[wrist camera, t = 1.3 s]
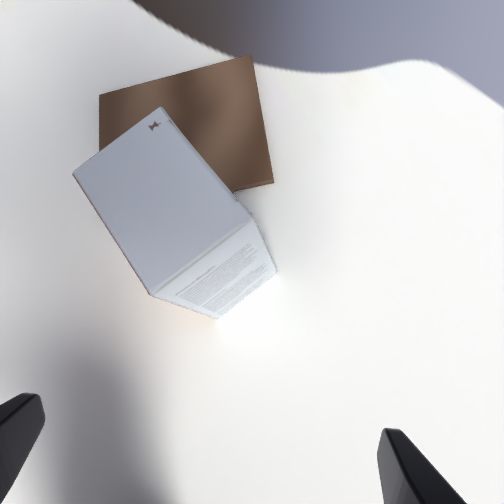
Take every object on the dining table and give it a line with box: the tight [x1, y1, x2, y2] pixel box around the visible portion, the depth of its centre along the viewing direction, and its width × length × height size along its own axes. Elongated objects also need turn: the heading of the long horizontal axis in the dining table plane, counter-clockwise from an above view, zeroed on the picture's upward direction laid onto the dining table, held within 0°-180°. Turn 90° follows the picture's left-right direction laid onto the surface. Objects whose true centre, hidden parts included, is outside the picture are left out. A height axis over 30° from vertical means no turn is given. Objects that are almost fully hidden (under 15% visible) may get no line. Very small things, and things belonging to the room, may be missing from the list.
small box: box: [72, 107, 278, 319], centre depth 21 cm, size 8×6×10 cm
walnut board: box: [99, 54, 274, 192], centre depth 29 cm, size 14×12×1 cm
